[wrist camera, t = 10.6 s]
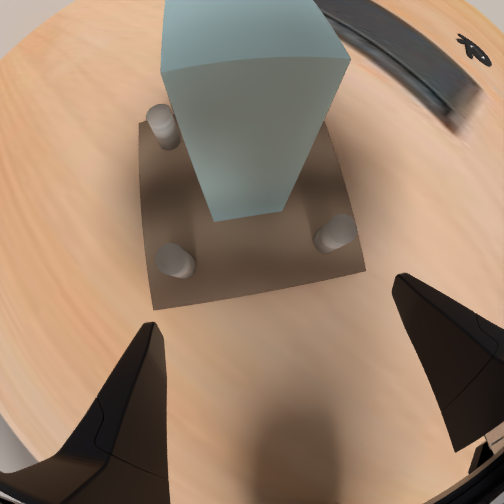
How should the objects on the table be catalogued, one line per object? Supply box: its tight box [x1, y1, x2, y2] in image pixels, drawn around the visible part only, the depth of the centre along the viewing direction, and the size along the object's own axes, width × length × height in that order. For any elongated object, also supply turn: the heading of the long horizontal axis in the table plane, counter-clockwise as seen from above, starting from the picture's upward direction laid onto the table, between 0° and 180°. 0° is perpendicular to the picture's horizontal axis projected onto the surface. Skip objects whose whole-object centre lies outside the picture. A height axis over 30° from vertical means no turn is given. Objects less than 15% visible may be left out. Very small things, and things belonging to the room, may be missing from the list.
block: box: [161, 0, 351, 222], centre depth 12 cm, size 4×4×13 cm
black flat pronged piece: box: [457, 34, 492, 67], centre depth 25 cm, size 9×8×1 cm
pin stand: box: [139, 104, 366, 310], centre depth 17 cm, size 14×14×5 cm
